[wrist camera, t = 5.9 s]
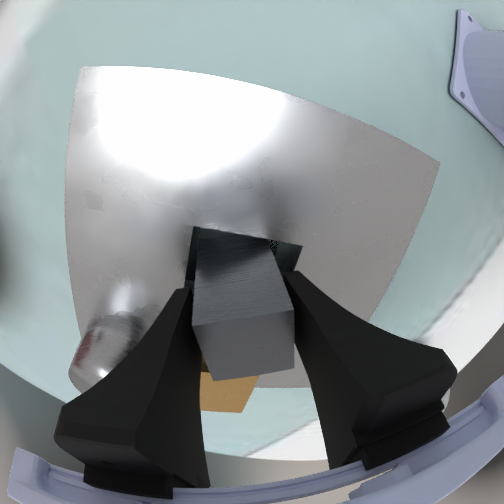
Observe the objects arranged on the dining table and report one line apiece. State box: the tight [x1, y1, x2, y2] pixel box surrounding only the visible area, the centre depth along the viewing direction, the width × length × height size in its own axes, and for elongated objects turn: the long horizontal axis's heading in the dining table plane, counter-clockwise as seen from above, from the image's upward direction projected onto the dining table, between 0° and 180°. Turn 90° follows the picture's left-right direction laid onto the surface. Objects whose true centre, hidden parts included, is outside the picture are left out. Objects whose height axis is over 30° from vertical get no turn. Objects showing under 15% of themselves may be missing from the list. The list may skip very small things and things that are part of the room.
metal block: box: [192, 227, 294, 381], centre depth 11 cm, size 3×3×7 cm
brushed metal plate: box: [65, 66, 440, 413], centre depth 12 cm, size 16×16×6 cm
